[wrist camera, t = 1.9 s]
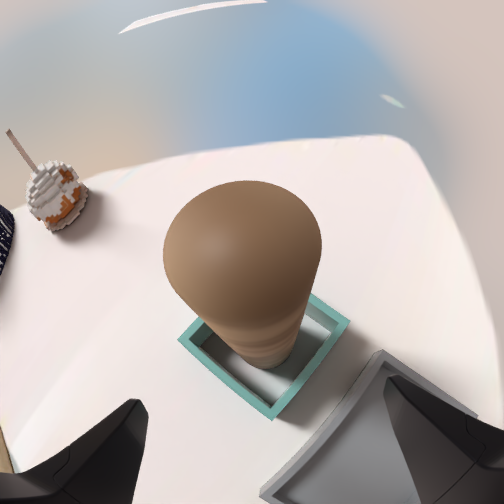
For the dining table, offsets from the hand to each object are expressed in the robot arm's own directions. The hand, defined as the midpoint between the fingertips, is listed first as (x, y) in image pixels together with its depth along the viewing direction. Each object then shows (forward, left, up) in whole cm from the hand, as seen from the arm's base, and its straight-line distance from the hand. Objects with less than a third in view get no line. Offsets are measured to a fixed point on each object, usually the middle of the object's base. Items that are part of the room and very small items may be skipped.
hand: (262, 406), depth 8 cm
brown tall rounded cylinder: (+3, +3, -11) cm, 12 cm away
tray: (0, -11, -11) cm, 16 cm away
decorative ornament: (-2, +33, -12) cm, 36 cm away
